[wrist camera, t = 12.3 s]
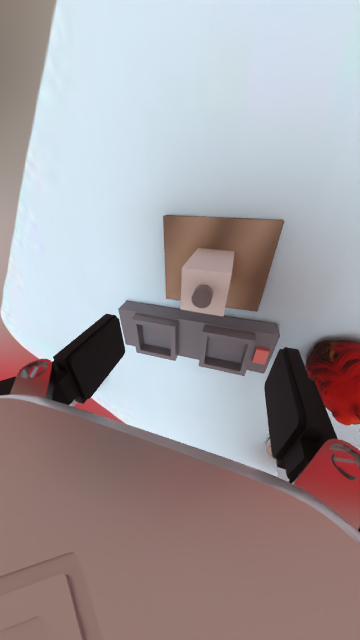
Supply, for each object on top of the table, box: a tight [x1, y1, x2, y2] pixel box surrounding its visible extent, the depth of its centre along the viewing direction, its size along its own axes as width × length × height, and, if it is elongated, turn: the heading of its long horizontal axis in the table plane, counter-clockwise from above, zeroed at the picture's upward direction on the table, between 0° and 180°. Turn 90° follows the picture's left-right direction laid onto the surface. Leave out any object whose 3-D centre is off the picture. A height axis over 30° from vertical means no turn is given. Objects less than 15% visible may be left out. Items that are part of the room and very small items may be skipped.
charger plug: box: [181, 248, 235, 316], centre depth 18 cm, size 4×4×8 cm
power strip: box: [118, 301, 280, 376], centre depth 27 cm, size 22×7×4 cm, turn 90°
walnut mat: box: [163, 215, 284, 312], centre depth 22 cm, size 12×10×1 cm
